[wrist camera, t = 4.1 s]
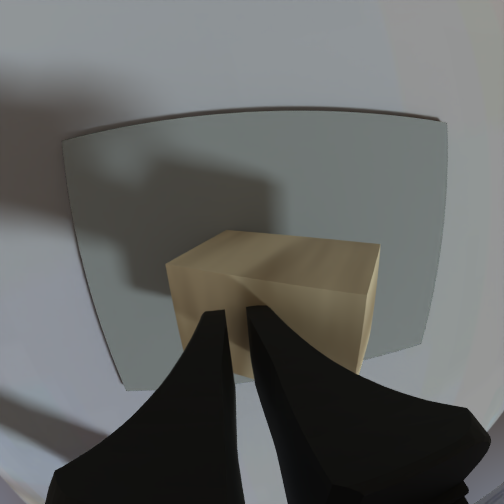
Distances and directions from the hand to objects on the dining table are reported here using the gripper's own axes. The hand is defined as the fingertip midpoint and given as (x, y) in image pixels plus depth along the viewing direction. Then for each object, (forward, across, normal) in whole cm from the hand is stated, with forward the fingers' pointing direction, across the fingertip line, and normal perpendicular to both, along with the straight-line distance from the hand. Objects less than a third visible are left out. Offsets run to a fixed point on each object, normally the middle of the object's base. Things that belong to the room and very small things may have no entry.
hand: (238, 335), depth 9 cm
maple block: (+3, +1, 0) cm, 4 cm away
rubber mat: (+6, -3, 0) cm, 6 cm away
